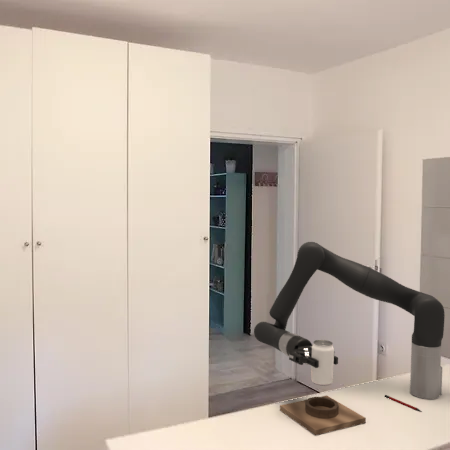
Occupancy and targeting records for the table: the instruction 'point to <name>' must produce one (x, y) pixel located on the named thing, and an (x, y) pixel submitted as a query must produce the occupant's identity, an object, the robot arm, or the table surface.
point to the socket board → (322, 423)
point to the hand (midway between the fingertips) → (327, 362)
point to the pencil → (403, 403)
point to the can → (323, 362)
